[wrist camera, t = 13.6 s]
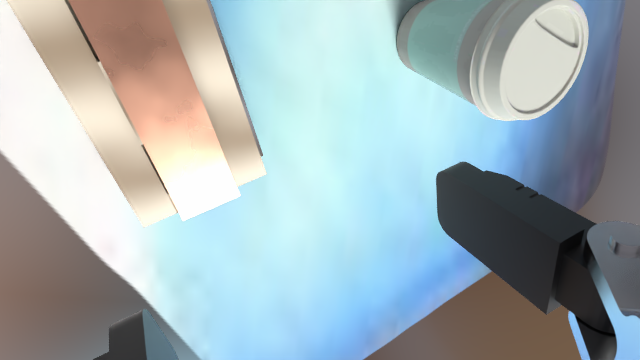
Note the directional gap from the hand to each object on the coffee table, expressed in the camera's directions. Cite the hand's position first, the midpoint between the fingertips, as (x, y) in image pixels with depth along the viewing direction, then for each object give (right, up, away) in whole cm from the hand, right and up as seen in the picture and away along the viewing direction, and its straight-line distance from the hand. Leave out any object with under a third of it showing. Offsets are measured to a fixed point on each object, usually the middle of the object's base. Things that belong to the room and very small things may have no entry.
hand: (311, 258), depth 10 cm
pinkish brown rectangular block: (-11, +9, +17) cm, 22 cm away
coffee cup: (+9, +14, +24) cm, 30 cm away
